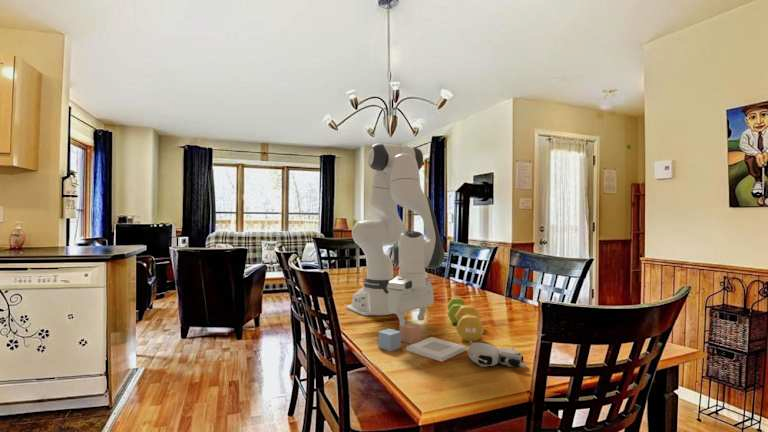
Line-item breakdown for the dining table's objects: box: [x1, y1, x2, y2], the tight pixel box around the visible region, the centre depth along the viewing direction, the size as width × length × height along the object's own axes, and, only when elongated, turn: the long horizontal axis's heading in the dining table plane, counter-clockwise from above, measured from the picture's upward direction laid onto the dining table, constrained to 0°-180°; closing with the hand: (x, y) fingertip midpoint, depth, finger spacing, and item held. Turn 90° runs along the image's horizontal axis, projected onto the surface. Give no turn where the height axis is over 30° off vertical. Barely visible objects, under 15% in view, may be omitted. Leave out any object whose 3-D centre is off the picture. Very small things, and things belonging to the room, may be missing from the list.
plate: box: [405, 336, 467, 363], centre depth 120 cm, size 13×13×1 cm
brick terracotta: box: [398, 322, 422, 345], centre depth 130 cm, size 5×5×5 cm
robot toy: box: [467, 341, 527, 369], centre depth 110 cm, size 12×4×15 cm
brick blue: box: [377, 328, 402, 352], centre depth 122 cm, size 5×5×5 cm
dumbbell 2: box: [456, 304, 485, 342], centre depth 137 cm, size 19×9×8 cm, turn 170°
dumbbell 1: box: [447, 297, 467, 325], centre depth 157 cm, size 16×8×7 cm, turn 171°
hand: (412, 322), depth 129 cm, fingers open, 8 cm apart
